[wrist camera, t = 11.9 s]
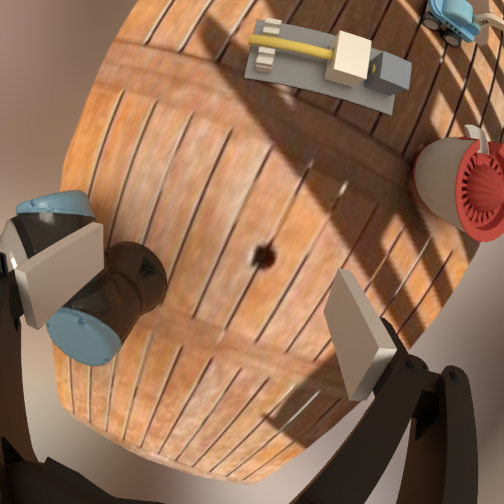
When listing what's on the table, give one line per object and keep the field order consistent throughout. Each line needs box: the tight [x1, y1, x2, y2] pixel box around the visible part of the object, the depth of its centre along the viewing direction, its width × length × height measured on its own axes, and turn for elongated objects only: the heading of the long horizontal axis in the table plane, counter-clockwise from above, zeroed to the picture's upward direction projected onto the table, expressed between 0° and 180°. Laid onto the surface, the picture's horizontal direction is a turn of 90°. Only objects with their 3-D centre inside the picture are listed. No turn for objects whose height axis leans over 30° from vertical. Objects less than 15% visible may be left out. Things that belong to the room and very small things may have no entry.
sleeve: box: [324, 31, 371, 88], centre depth 35 cm, size 5×7×7 cm
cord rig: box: [244, 18, 412, 116], centre depth 35 cm, size 26×12×8 cm, turn 80°
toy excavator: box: [422, 0, 504, 46], centre depth 24 cm, size 9×17×17 cm, turn 69°
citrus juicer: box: [413, 125, 504, 242], centre depth 35 cm, size 16×17×20 cm
